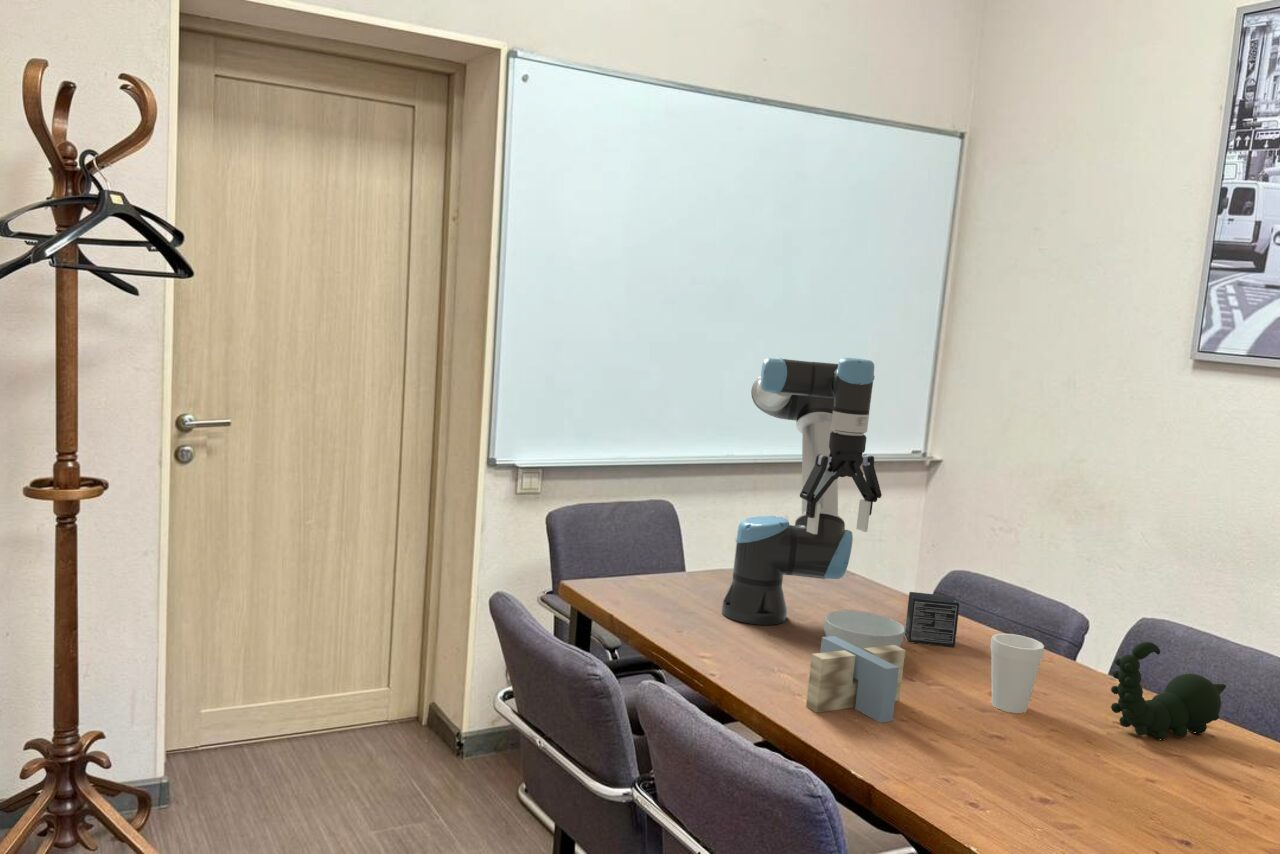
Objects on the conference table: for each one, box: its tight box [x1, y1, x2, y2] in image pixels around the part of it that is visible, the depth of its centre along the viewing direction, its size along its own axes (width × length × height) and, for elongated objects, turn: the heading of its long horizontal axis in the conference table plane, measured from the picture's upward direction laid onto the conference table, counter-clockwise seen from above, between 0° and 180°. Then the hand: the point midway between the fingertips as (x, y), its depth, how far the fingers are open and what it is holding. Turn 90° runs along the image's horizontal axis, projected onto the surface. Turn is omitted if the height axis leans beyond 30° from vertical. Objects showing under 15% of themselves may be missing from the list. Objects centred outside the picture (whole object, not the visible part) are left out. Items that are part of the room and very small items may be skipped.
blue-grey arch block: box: [819, 636, 899, 724], centre depth 199 cm, size 18×3×10 cm, turn 30°
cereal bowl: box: [823, 609, 906, 650], centre depth 230 cm, size 17×17×7 cm
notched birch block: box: [805, 645, 906, 714], centre depth 199 cm, size 20×3×10 cm, turn 120°
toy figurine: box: [1110, 641, 1227, 741], centre depth 198 cm, size 9×19×25 cm
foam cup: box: [989, 633, 1045, 714], centre depth 205 cm, size 10×9×13 cm
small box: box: [904, 591, 961, 648], centre depth 244 cm, size 11×6×10 cm, turn 84°
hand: (837, 531), depth 227 cm, fingers open, 13 cm apart
